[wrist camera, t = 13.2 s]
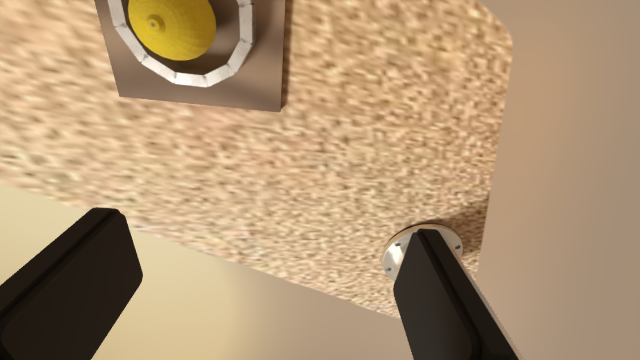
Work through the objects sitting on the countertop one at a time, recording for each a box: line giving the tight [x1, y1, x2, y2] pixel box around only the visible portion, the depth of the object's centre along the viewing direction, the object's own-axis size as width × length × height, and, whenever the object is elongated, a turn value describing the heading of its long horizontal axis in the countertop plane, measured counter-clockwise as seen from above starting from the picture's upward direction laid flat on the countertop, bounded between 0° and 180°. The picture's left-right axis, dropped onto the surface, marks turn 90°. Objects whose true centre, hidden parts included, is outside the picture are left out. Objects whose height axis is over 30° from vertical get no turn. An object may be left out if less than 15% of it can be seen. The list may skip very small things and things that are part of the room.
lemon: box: [128, 0, 216, 60], centre depth 21 cm, size 6×6×8 cm
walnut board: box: [94, 0, 286, 112], centre depth 24 cm, size 16×16×1 cm
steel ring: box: [108, 0, 256, 87], centre depth 23 cm, size 11×11×2 cm
